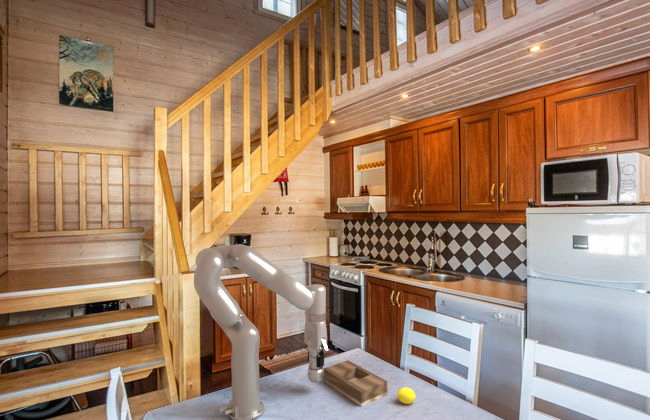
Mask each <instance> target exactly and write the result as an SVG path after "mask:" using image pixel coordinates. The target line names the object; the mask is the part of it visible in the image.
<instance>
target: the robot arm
mask: <svg viewBox="0 0 650 420" xmlns="http://www.w3.org/2000/svg"><path fill="white" fill-rule="evenodd" d="M195 265H196V268H195V270H194V275H193V286H194V290H195V293H196V294H197V295H198V297H199V299H200V300H201V302H202V303H203V304H204V306H205V307H206V308H207V310H208V311H209V313H210V315H211V317H212V319H213V320H214V321H215V322H216V323H217V324H218V326H219V327H220V329H221V330H222V331H223V332H224V334H225V336H226V337H227V338H228V340H229V341H230V343H231V356H230V357H231V359H230V362H231V363H230V364H231V365H230V366H231V367H230V369H231V394H232V395H231V396H232V397H231V399H230V400H229V403H227V405H224V406H221V407H218V414H219V415H221V414H224V415H225V416H228V418H229V417H230V418H231V419H230V418H229V419H230V420H232V419H233V420H252V419H253V420H256V419H257V418H259V417H261V416H262V415H263V414H264V412H265V404H264V402H262V401H261V392H260V391H261V390H260V359H259V355H260V344H261V342H260V341H261V338H260V332H259V329H258V328H257V327H256V325H255V324H254V323H253V322H252V321H251V320H250V319H249V317H247V315H246V314H245V313H244V311H243V310H242V308H241V307H240V305H239V303H238V301H237V300H236V299H235V298H234V297H233V296H232V295H231V293H230V292H229V291H228V290H227V288H226V286H225V285H224V284H223V282H222V280H221V273H222V272H223V270H225V269H230V268H237V269H238V270H240V271H241V272H242V273H244V274H245V275H247V276H248V277H250V278H251V279H253V280H254V281H255V282H257V283H258V284H260V285H261V286H263V287H265V288H266V289H268V290H269V291H271V292H273V293H275V294H276V295H278V296H280V297H281V298H283V299H285V300H286V301H287V302H288V303H289V304H291V305H292V306H294V307H296V308H297V309H299V310H302V311H304V310H305V311H306V318H305V323H304V333H303V342H304V344H305V346H306V347H307V348H306V351H307V362H308V363H309V349H308V341H309V340H310V341H311V342H312V348H313V349H315V350H317V355H318V357H317V365H316V366H317V368H319V367H322V366H323V367H325V356H326V354H327V352H328V351H329V348H328V332H327V324H326V323H327V322H326V320H327V319H326V318H327V316H326V315H327V313H326V311H327V309H326V308H327V307H326V306H327V305H326V303H327V302H326V301H327V296H326V295H327V293H326V292H327V291H326V290H327V289H326V287H325V285H323V284H319V283H316V284H315V283H314V284H309V285H306V284H305V285H303V284H302V283H300V282H299V281H297V280H296V279H295V278H293V277H291V276H290V275H289V274H287V273H286V272H285V271H284V270H282V269H281V268H280V267H278V266H277V265H276V264H274V263H273V262H271V261H270V260H269V259H267V258H266V257H264V255H263V254H260V253H259V252H258V251H256V249H254V248H252V246H249V245H245V244H241V243H238V244H230V245H222V246H215V247H208V248H204V249H201V250H200V251H199V252H197V255H196V257H195ZM321 345H322V348H320V347H321ZM321 349H322V351H321V352H320V350H321ZM255 418H256V419H255Z"/></svg>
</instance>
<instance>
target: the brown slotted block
mask: <svg viewBox="0 0 650 420" xmlns="http://www.w3.org/2000/svg"><path fill="white" fill-rule="evenodd" d="M323 368H324V378H323V382H325V383H326V384H327V385H329V386H330V387H332V388H334V390H336V391H338V392H340V393H341V394H343V395H344V396H345V397H347V398H348V399H350V401H351V400H352V401H353V402H354V403H356V404H357V405H358V406H360V407H363V406H366V405H368V404H370V403H372V402H376V401H377V400H380V399H382V398H384V397H387V396H388V395H389V393H388V391H389V389H388V380H386V379H384V378H382V377H381V376H379V375H376V374H374V373H373V372H370V371H369V370H367V369H366V368H363V367H362V366H360V365H358V364H357V363H355V362H353V361H350V360H348V359H347V360H345V361H342V362H339V363H335V364H333V365H330V366H327V367H323Z"/></svg>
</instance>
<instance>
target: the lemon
mask: <svg viewBox="0 0 650 420" xmlns="http://www.w3.org/2000/svg"><path fill="white" fill-rule="evenodd" d="M396 396H397V398H398V400H399V401H400V402H401V403H402V404H405V405H410V404H412V403H414V401H415V400H416V397H417V396H416V393H415V392H414V390H413V389H411V388H410V387H408V386H407V387H405V386H404V387H402V388H400V389H399V390H398V392H397V393H396Z"/></svg>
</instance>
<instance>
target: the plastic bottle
mask: <svg viewBox="0 0 650 420" xmlns="http://www.w3.org/2000/svg"><path fill="white" fill-rule="evenodd" d="M320 348H322V345H321V347H320ZM308 349H309V351H308V352H309V362H308V369H307V378H308V379H309V381H310V382H313V383H318V382H321V381H323V380H324V368H325V367H324V366H322V367H319V368H317V366H316V365H317V357H318V355H317V350H315V349H313V348H312V342H311V341H310V340H309V341H308ZM321 351H322V349H321V350H320V352H321Z"/></svg>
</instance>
